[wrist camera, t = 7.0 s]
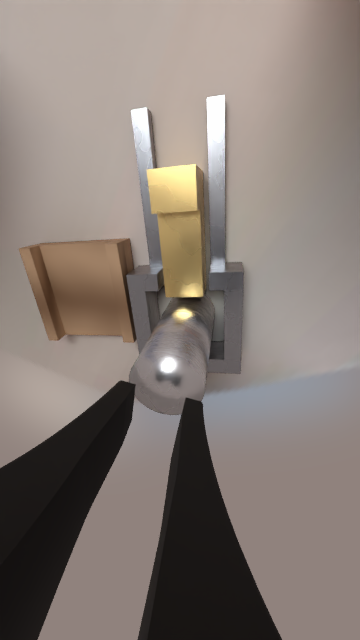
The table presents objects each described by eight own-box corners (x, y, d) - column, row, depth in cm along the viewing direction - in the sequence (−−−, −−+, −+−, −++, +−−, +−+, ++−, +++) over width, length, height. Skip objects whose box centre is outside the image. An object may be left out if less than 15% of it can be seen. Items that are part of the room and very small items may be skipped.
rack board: (40, 243, 19) (18, 248, 17) (129, 238, 17) (116, 243, 15) (65, 327, 22) (49, 340, 20) (143, 328, 20) (133, 342, 18)
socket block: (117, 117, 15) (97, 102, 12) (246, 96, 13) (249, 76, 11) (151, 351, 21) (141, 368, 19) (239, 354, 20) (240, 373, 18)
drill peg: (166, 289, 19) (123, 351, 11) (214, 288, 18) (203, 354, 10) (170, 332, 20) (135, 412, 12) (215, 332, 19) (206, 417, 12)
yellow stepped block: (163, 175, 15) (146, 169, 12) (202, 171, 15) (195, 164, 12) (173, 285, 18) (161, 303, 15) (206, 285, 18) (201, 303, 15)
